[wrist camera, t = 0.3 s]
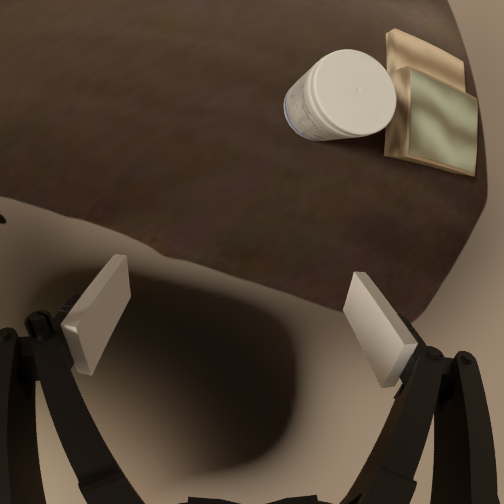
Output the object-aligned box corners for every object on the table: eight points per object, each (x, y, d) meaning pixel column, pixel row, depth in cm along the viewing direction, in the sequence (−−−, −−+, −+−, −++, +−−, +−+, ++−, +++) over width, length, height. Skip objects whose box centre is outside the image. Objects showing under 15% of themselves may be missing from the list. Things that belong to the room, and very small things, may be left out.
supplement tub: (329, 72, 36) (377, 40, 22) (354, 129, 39) (411, 121, 25) (270, 91, 36) (296, 58, 22) (297, 151, 39) (337, 149, 26)
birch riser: (385, 33, 34) (405, 21, 28) (453, 64, 36) (474, 58, 30) (383, 155, 41) (406, 156, 35) (452, 172, 43) (475, 176, 37)
